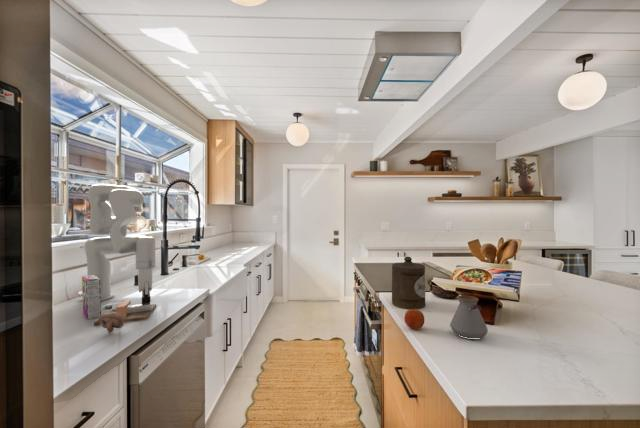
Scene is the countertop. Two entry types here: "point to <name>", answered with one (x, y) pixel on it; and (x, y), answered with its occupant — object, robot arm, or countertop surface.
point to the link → (128, 308)
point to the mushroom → (111, 321)
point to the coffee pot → (468, 318)
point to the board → (135, 315)
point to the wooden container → (408, 284)
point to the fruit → (414, 319)
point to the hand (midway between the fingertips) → (146, 305)
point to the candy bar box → (91, 296)
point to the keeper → (123, 308)
